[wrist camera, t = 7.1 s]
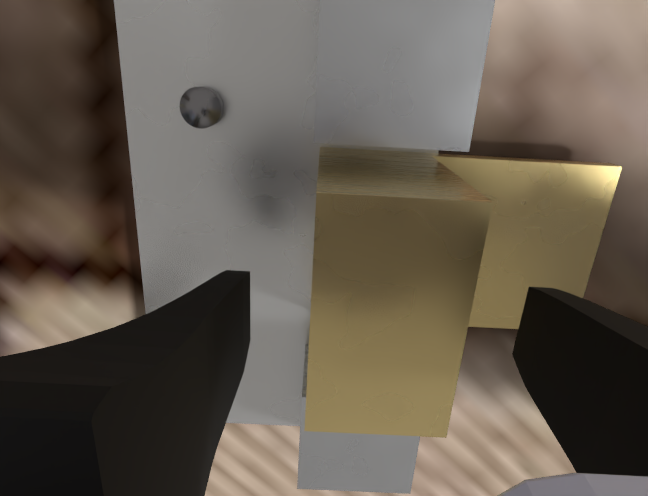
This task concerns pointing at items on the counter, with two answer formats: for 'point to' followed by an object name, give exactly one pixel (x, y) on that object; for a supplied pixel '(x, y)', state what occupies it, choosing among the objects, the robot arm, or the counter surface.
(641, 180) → the counter surface
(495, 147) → the counter surface
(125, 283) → the counter surface
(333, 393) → the pale gold block
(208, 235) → the fixed leaf
